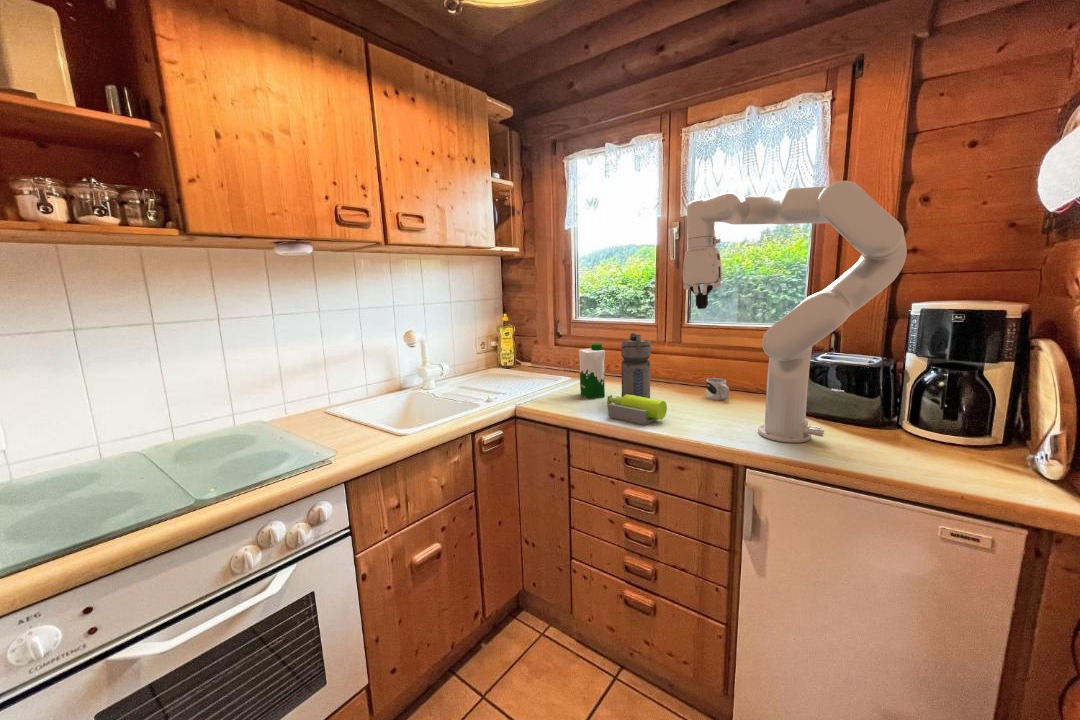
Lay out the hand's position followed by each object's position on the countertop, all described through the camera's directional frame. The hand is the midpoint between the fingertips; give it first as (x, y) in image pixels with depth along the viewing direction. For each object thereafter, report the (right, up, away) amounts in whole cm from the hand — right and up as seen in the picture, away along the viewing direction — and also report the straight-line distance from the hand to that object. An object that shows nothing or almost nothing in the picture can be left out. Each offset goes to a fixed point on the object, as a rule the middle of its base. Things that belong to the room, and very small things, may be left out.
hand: (701, 308), depth 126 cm
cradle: (-17, -34, +12) cm, 40 cm away
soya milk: (-27, -29, +39) cm, 56 cm away
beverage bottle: (-13, -30, +30) cm, 45 cm away
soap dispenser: (-10, -31, +5) cm, 33 cm away
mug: (+17, -30, +28) cm, 44 cm away
